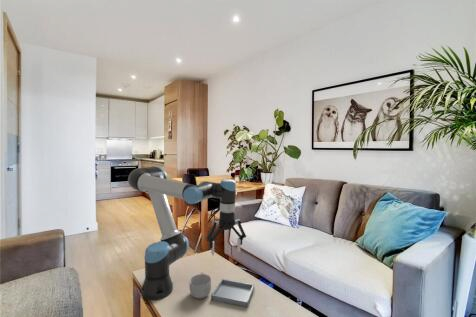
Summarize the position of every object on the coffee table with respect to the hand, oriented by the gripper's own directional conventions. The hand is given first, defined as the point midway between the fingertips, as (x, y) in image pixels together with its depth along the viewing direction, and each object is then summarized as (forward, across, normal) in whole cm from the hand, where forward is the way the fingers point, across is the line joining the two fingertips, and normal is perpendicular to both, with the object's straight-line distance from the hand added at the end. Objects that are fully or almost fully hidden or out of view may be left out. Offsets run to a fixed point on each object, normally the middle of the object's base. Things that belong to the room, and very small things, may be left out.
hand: (225, 252), depth 121 cm
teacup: (+21, -11, +3) cm, 24 cm away
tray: (+20, +4, -3) cm, 21 cm away
